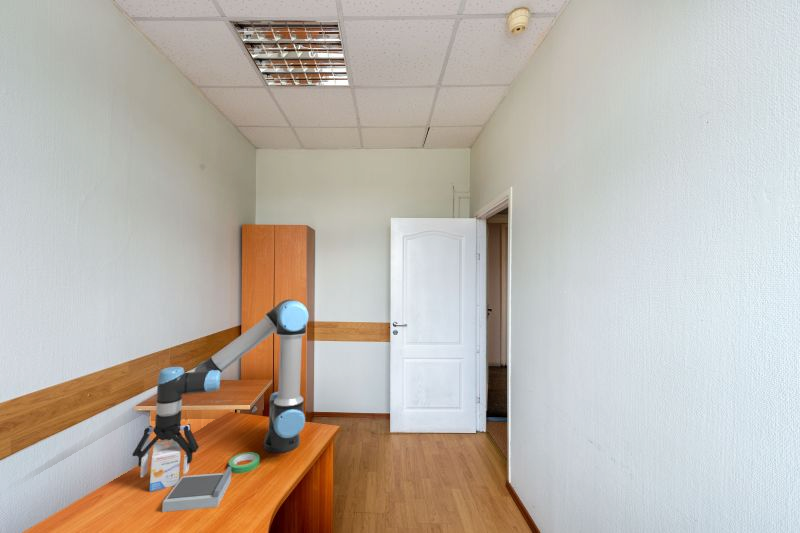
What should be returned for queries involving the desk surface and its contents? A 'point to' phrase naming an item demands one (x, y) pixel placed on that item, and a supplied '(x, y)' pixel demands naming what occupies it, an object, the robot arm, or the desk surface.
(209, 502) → the dock
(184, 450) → the robot arm
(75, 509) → the desk surface
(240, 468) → the tape roll
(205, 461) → the desk surface
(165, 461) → the ink box
